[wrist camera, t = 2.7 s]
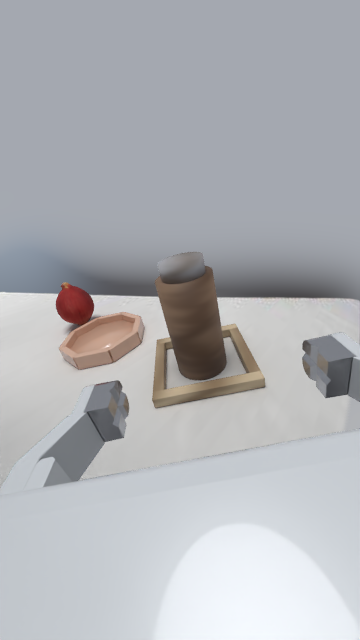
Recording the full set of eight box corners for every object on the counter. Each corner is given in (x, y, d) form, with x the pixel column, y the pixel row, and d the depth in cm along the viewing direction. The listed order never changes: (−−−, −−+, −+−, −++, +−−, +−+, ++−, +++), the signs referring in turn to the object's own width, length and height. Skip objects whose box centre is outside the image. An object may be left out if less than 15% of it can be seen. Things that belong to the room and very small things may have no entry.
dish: (54, 374, 30) (47, 363, 29) (82, 331, 40) (78, 321, 39) (138, 357, 29) (134, 345, 28) (146, 317, 39) (142, 307, 38)
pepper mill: (180, 384, 23) (148, 274, 18) (177, 353, 28) (152, 258, 23) (231, 374, 23) (214, 259, 18) (221, 344, 28) (205, 246, 22)
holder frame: (155, 408, 21) (152, 400, 21) (158, 346, 30) (156, 340, 30) (265, 386, 21) (264, 378, 20) (236, 330, 30) (235, 323, 29)
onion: (70, 322, 44) (50, 282, 40) (101, 313, 45) (84, 273, 41) (65, 337, 39) (41, 292, 35) (99, 326, 40) (80, 281, 36)
